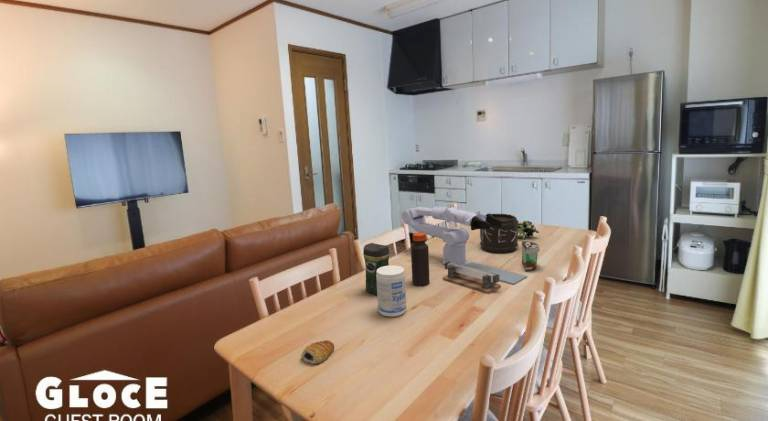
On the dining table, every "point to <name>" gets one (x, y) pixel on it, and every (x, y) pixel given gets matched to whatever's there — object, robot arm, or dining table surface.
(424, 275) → the vinegar
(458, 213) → the robot arm
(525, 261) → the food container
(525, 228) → the green leafy bush
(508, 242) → the wooden barrel
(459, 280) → the wooden stand
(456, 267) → the steel rail
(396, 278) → the supplement tub
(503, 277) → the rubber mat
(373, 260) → the coffee jar
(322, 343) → the pastry
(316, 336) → the dining table surface
